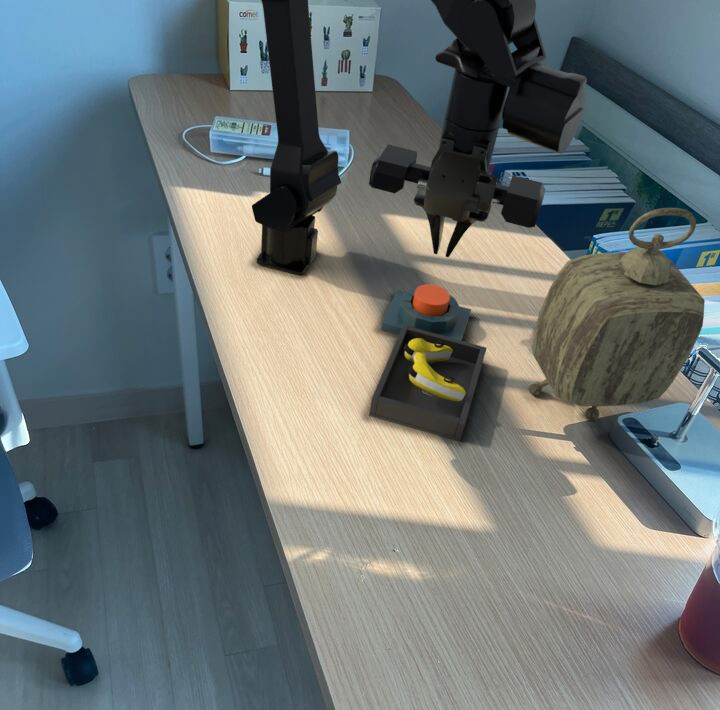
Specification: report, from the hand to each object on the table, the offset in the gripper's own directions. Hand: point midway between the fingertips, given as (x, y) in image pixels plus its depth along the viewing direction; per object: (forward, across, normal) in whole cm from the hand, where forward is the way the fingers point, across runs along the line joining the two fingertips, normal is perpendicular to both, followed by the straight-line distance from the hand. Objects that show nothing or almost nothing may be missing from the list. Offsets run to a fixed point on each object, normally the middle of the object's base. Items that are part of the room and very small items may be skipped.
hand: (441, 254), depth 89 cm
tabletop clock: (+10, +21, -8) cm, 25 cm away
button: (+7, 0, 0) cm, 7 cm away
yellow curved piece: (+9, +3, -12) cm, 16 cm away
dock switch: (+10, 0, 0) cm, 10 cm away
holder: (+10, +3, -12) cm, 16 cm away
